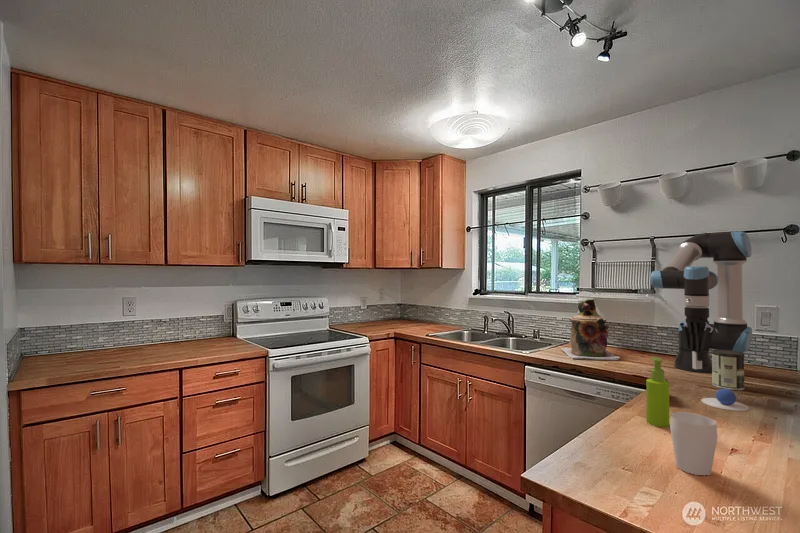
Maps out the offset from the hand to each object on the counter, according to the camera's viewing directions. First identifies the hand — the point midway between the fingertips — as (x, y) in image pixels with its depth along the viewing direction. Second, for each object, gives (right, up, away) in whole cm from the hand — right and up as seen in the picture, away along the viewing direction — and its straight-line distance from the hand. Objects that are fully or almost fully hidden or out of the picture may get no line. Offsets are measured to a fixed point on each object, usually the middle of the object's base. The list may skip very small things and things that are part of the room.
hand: (697, 368), depth 150 cm
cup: (-44, -10, -56) cm, 72 cm away
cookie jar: (-9, -11, +67) cm, 69 cm away
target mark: (+1, -10, -11) cm, 15 cm away
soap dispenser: (-34, -10, -28) cm, 45 cm away
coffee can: (+20, -10, +10) cm, 25 cm away
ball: (+1, -7, -11) cm, 14 cm away
